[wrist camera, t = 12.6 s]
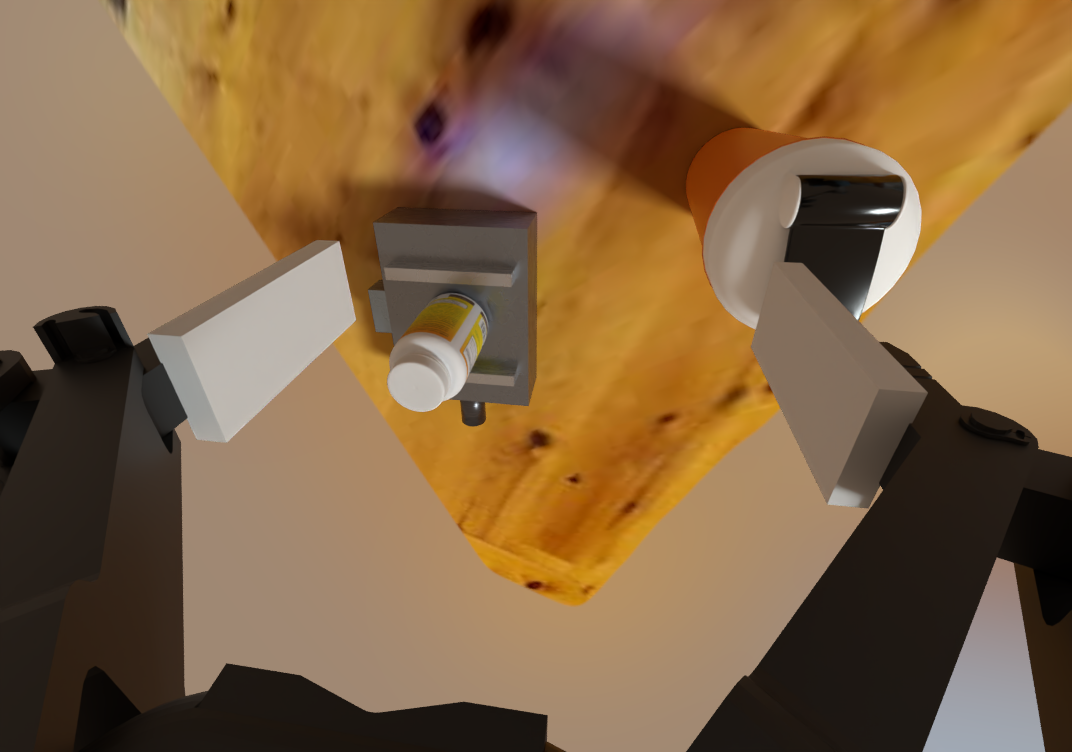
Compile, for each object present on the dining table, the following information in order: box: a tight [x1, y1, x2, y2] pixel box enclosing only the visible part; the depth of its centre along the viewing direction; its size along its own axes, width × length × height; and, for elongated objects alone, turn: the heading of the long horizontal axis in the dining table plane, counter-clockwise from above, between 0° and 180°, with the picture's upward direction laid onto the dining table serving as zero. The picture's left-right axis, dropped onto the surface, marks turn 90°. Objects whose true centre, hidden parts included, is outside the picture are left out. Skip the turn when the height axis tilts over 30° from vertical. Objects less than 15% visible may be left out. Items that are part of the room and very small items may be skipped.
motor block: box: [368, 207, 537, 426], centre depth 43 cm, size 20×14×6 cm
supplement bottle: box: [387, 293, 488, 412], centre depth 37 cm, size 6×6×10 cm
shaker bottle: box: [686, 127, 921, 329], centre depth 28 cm, size 9×9×20 cm
